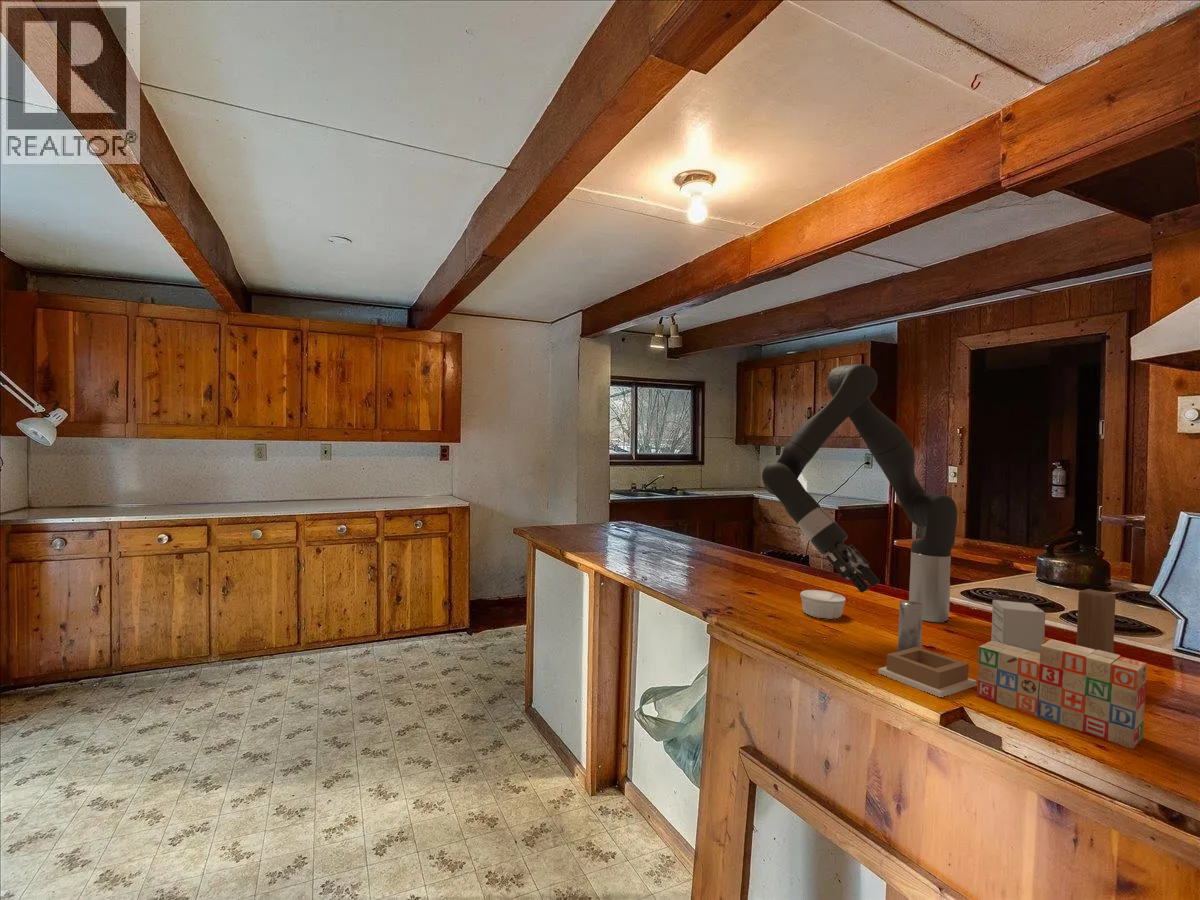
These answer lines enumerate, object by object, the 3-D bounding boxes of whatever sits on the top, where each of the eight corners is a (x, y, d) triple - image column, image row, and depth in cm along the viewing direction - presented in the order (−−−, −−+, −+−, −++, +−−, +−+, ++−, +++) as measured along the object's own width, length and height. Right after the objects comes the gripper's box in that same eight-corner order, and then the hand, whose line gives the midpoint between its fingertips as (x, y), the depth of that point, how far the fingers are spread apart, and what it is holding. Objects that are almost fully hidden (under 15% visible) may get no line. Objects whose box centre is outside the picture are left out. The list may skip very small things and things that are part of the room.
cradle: (913, 663, 118) (914, 644, 118) (975, 685, 108) (976, 664, 108) (878, 673, 112) (879, 653, 112) (940, 698, 102) (941, 675, 101)
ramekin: (852, 622, 146) (852, 601, 146) (808, 620, 146) (809, 600, 146) (834, 609, 157) (835, 590, 157) (794, 608, 157) (794, 589, 157)
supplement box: (1029, 661, 122) (1032, 602, 122) (1044, 674, 115) (1046, 612, 115) (989, 656, 124) (991, 598, 124) (1001, 668, 117) (1003, 607, 117)
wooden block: (1092, 674, 116) (1096, 586, 116) (1121, 682, 112) (1125, 591, 112) (1073, 682, 111) (1077, 590, 111) (1103, 691, 107) (1107, 596, 107)
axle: (905, 648, 127) (907, 599, 127) (924, 655, 123) (927, 604, 123) (893, 651, 125) (895, 601, 125) (913, 658, 121) (915, 607, 121)
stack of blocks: (975, 697, 103) (978, 629, 103) (989, 689, 107) (992, 623, 107) (1134, 750, 86) (1138, 669, 86) (1144, 739, 89) (1148, 661, 89)
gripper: (823, 523, 129) (876, 582, 122) (843, 518, 140) (892, 573, 133) (799, 543, 133) (849, 602, 125) (820, 537, 144) (867, 591, 136)
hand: (871, 587), depth 129 cm, fingers open, 8 cm apart
